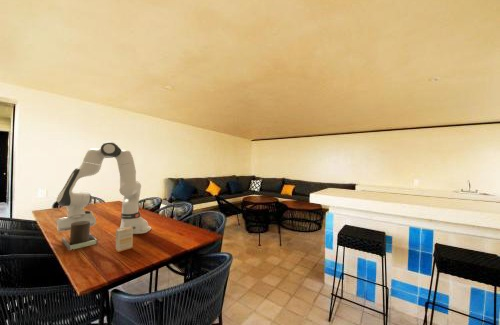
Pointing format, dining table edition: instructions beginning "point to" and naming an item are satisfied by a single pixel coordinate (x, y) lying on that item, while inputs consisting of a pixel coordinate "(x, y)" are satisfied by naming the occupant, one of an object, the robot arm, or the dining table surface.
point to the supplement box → (124, 238)
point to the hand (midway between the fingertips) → (78, 233)
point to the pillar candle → (79, 232)
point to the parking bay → (70, 247)
